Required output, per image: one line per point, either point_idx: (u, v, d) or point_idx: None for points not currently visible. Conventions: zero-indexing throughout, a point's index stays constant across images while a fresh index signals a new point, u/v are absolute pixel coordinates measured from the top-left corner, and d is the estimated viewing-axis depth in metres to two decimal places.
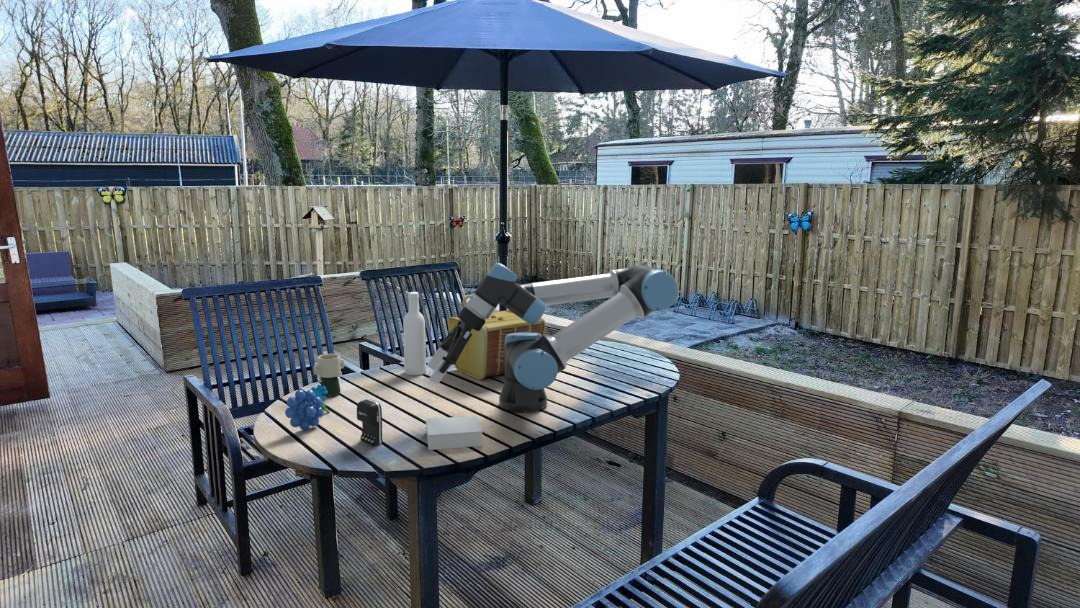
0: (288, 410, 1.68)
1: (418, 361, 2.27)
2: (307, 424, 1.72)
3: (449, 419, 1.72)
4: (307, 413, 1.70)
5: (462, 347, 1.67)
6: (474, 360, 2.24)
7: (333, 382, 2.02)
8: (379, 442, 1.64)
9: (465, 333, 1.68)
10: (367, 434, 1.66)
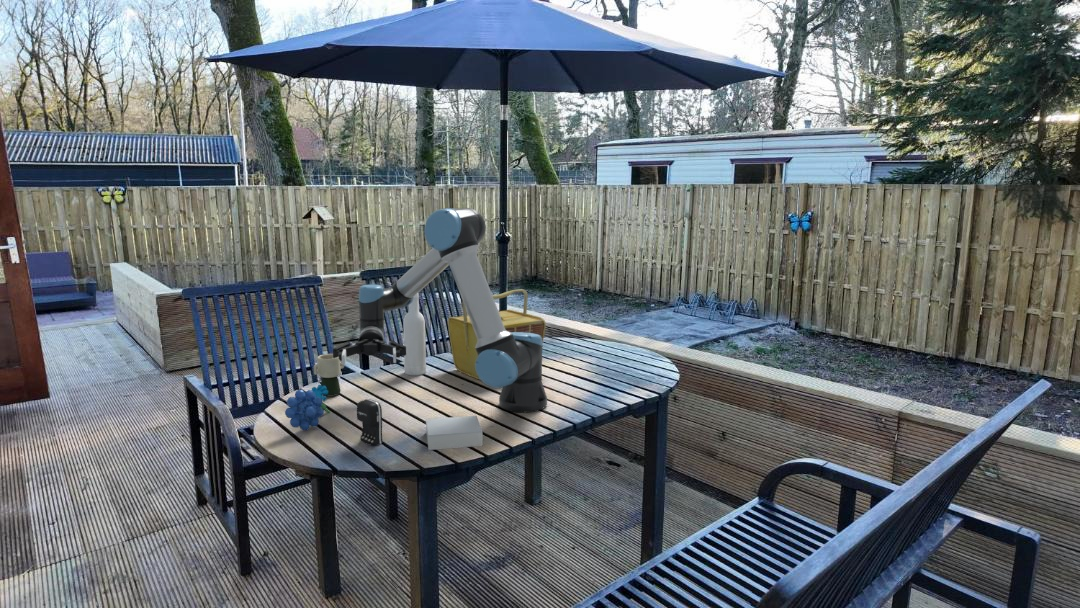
0: (288, 410, 1.68)
1: (418, 361, 2.27)
2: (307, 424, 1.72)
3: (449, 419, 1.72)
4: (307, 413, 1.70)
5: None
6: (474, 360, 2.24)
7: (333, 382, 2.02)
8: (379, 442, 1.64)
9: None
10: (367, 434, 1.66)
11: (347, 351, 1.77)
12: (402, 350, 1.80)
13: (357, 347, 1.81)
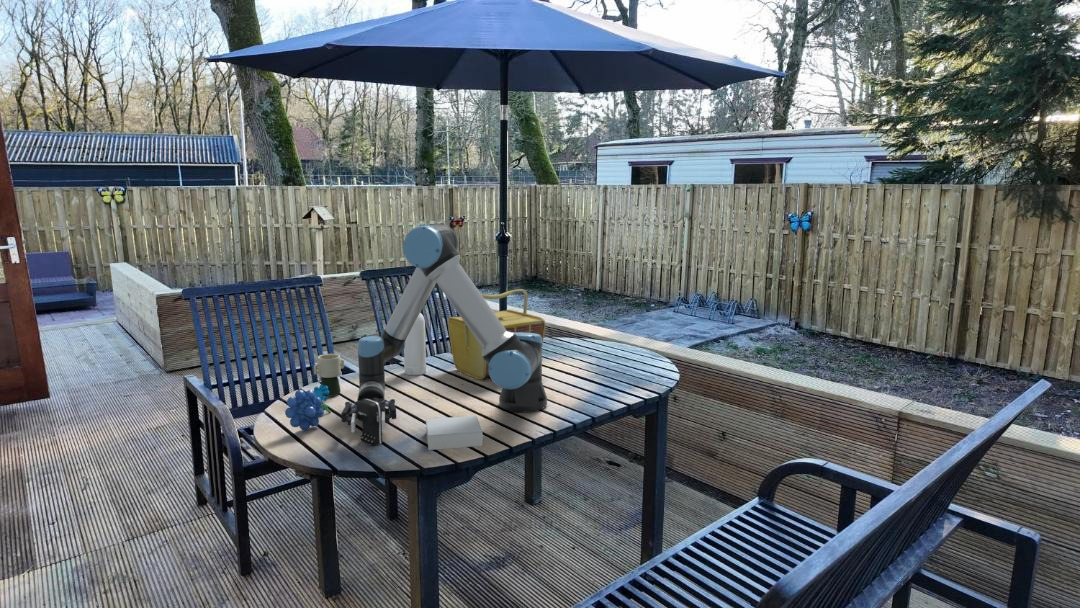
0: (288, 410, 1.68)
1: (418, 361, 2.27)
2: (307, 424, 1.72)
3: (449, 419, 1.72)
4: (307, 413, 1.70)
5: None
6: (474, 360, 2.24)
7: (333, 382, 2.02)
8: (379, 442, 1.64)
9: None
10: (367, 434, 1.66)
11: (355, 414, 1.67)
12: (392, 414, 1.67)
13: None
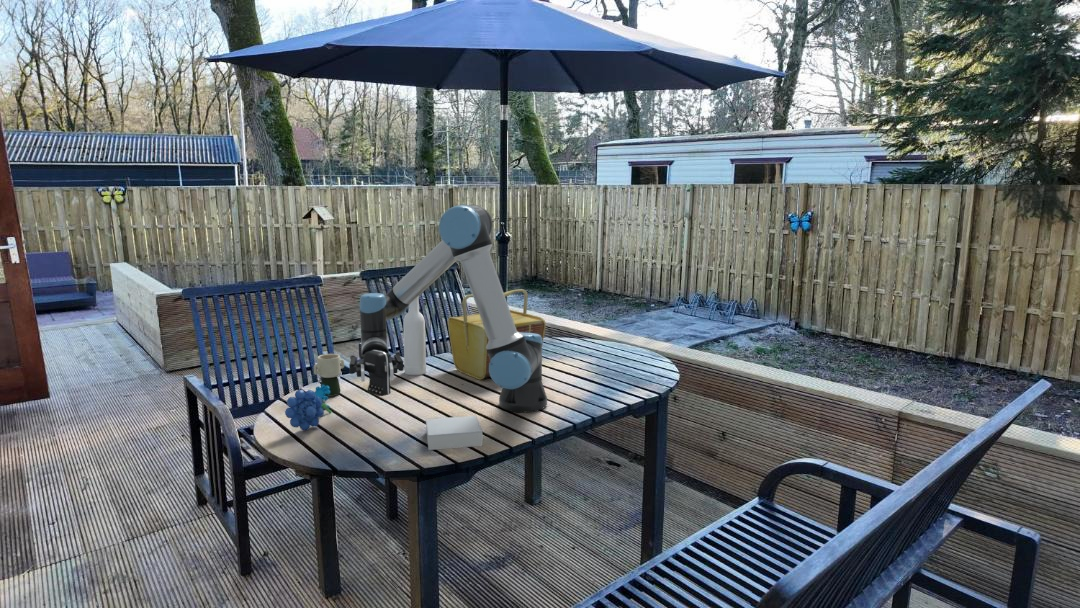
0: (288, 410, 1.68)
1: (418, 361, 2.27)
2: (307, 424, 1.72)
3: (449, 419, 1.72)
4: (307, 413, 1.70)
5: None
6: (474, 360, 2.24)
7: (333, 382, 2.02)
8: (387, 393, 1.62)
9: None
10: (374, 385, 1.63)
11: None
12: (399, 365, 1.65)
13: None
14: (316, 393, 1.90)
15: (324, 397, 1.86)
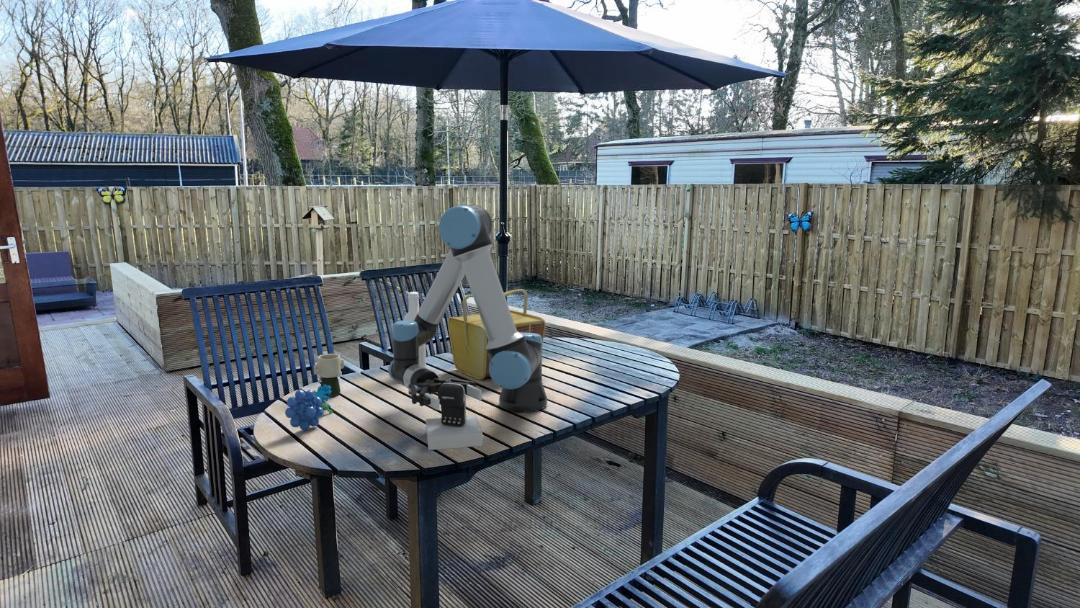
0: (288, 410, 1.68)
1: None
2: (307, 424, 1.72)
3: None
4: (307, 413, 1.70)
5: (411, 390, 1.68)
6: (474, 360, 2.24)
7: (333, 382, 2.02)
8: (465, 422, 1.67)
9: (409, 391, 1.72)
10: (449, 417, 1.67)
11: (425, 395, 1.66)
12: (473, 386, 1.74)
13: (427, 389, 1.70)
14: (318, 393, 1.90)
15: (325, 397, 1.86)
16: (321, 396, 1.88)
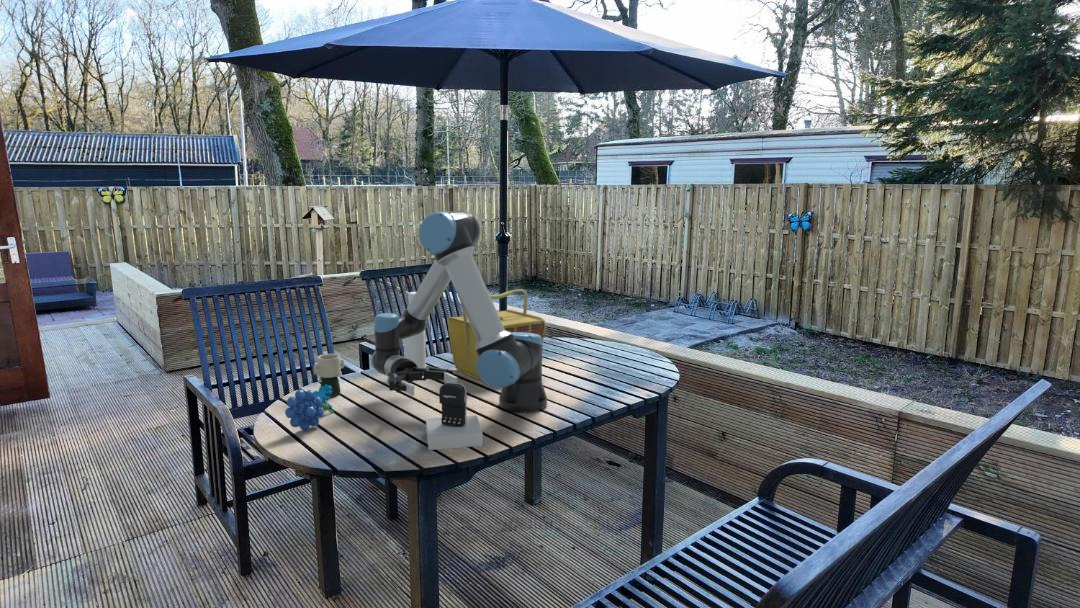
0: (288, 410, 1.68)
1: (418, 361, 2.27)
2: (307, 424, 1.72)
3: None
4: (307, 413, 1.70)
5: None
6: (474, 360, 2.24)
7: (333, 382, 2.02)
8: (465, 422, 1.67)
9: (388, 379, 1.82)
10: (449, 417, 1.68)
11: None
12: (451, 374, 1.85)
13: (405, 377, 1.80)
14: (319, 393, 1.90)
15: (325, 397, 1.86)
16: (322, 396, 1.88)
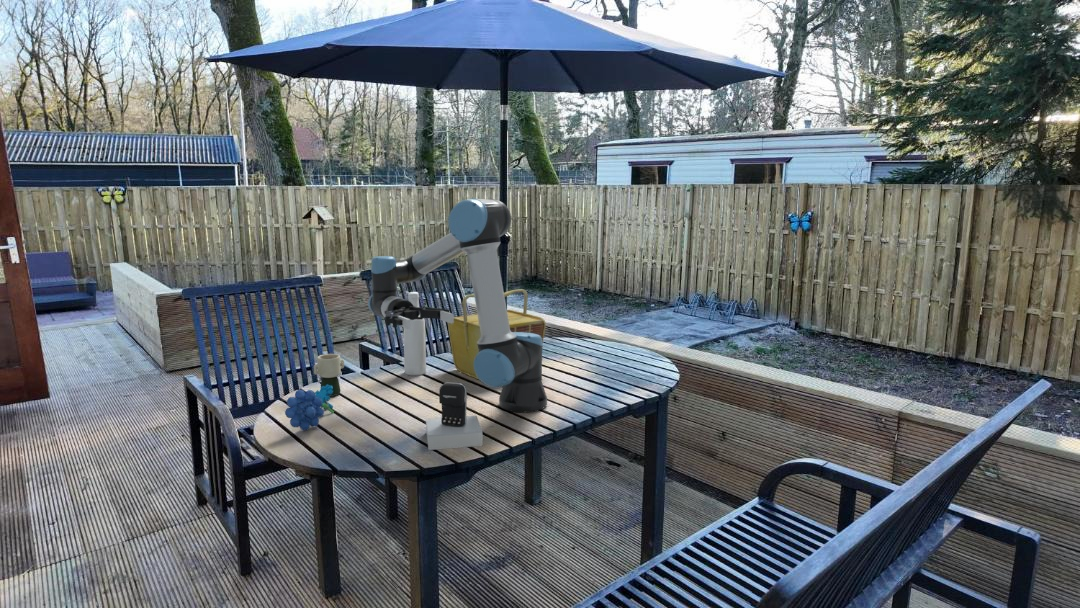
0: (288, 410, 1.68)
1: (418, 361, 2.27)
2: (307, 424, 1.72)
3: None
4: (307, 413, 1.70)
5: None
6: None
7: (333, 382, 2.02)
8: (465, 422, 1.67)
9: None
10: (449, 417, 1.68)
11: None
12: None
13: (401, 314, 1.81)
14: (320, 393, 1.90)
15: (326, 397, 1.86)
16: (323, 396, 1.88)
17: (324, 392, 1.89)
